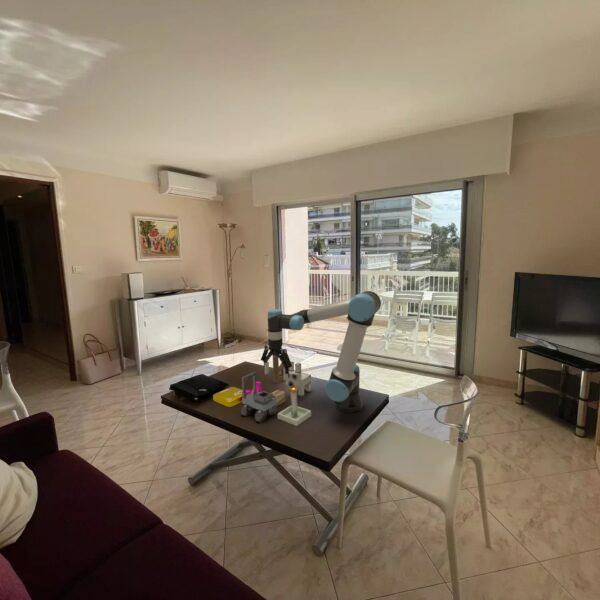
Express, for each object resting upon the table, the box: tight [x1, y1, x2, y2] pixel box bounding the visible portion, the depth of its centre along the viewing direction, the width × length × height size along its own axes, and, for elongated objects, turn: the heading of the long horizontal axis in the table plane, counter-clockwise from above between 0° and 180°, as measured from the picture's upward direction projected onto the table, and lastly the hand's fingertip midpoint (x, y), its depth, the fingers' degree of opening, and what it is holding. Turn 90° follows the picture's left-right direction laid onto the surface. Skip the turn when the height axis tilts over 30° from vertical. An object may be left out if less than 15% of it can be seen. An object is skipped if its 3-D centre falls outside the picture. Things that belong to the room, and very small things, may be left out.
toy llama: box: [285, 360, 312, 398], centre depth 186 cm, size 8×18×20 cm, turn 146°
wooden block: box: [271, 355, 287, 384], centre depth 204 cm, size 4×11×18 cm, turn 130°
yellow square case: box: [212, 386, 242, 408], centre depth 179 cm, size 15×15×5 cm
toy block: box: [242, 380, 262, 398], centre depth 180 cm, size 15×6×8 cm, turn 159°
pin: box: [288, 386, 298, 418], centre depth 158 cm, size 5×5×15 cm
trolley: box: [240, 371, 278, 423], centre depth 161 cm, size 15×14×20 cm
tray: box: [276, 405, 312, 427], centre depth 159 cm, size 12×12×3 cm
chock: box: [271, 389, 286, 407], centre depth 175 cm, size 5×7×6 cm
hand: (276, 376), depth 173 cm, fingers open, 13 cm apart
